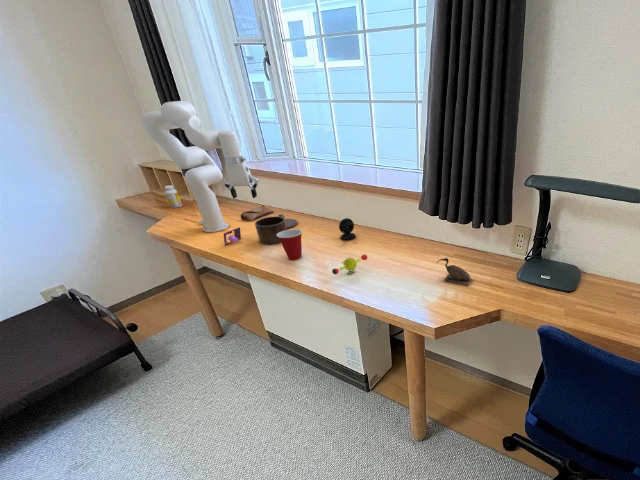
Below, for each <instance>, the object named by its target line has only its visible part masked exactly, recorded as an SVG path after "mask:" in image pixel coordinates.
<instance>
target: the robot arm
mask: <svg viewBox="0 0 640 480" xmlns="http://www.w3.org/2000/svg"><path fill="white" fill-rule="evenodd" d="M141 123H142V126H143V128H144V130H145V132H146V133H147V134H148V135H149V137H150V138H151V139H152V140H153V141H155V143H157V144H158V146H160V147H161V148H162V149H163V150H164V151H165V153H166V155H167V156H168V157H169V158H170V160H172V161H173V163H174V164H175V165H176V166H177V167H178V168H179V169H181V170H187V171H186V172H185V174H184V180H185V182H186V183H187V185H188V186H189V188H190V191H191V193H192V194H193V197H194V199H195V202H196V205H197V208H198V210H199V213H200V215H201V218H202V219H201V220H200V219H199V221H198V226H202V230H203V232H204V233H218V232H222V231H224V230H227V229H228V228H229V226H230V225H229V223H228V222H225V219H224V216H223V214H222V211H221V208H220V205H219V202H218V198H217V196H216V193H215V192H214V191H213V190H212V189H211V188H210V186H212V185H216V184H218V183H220V182H221V183H222V184H223V185H224V186H225V187H226V189H228V190H229V192H230V194H231V197H232V199H236V198H238V193H237V191H236V188H235V187H248V188H250V193H251V197H252V199H255V198H256V197H257V196H258V193H257V190H256V189H257V186H258V185H259V181H260V180H259V178H256V177H254V176H252V173H251V170H250V168H249V166H248V164H247V162H246V160H247V159H246V157H244V156H243V154H242V150H241V146H240V143H239V139H238V136H237V134H236V132H235V131H233V130H225V129H212V130H207V131H199V130H200V128H201V120H200V118H199V117H198V116H197V110H196V108H195V106H194V105H193V104H192V103H191V102H189V101H186V100H177V101H175V100H174V101H166V102H164V103H162V104H161V106H160V110H152V111H148V112H146V113H145V112H144V114H143V115H142V116H141ZM175 129H181V130H182V131H184V134H185V137H186V138H187V140H188V141H189V143H191V144H192V145H193V146H185V145H184V144H183V143H182V142H181V141H180V139H178V138H177V137H176V136H175V135H173V134H172V133H170V132H168V130H170V131H171V130H175ZM217 149H221V151H222V154H223V158H224V161H225V166H224V167H225V174H226V177H225V178H224V179H223V176H224V175H223V172H222V171H221V169H220V168H219V166H218V165H217V164H216V162H215V161H214V160H213V159H212V157H211V156H210V155H209V153H207V151H213V150H217Z"/></svg>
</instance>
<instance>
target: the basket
mask: <svg viewBox="0 0 640 480" xmlns="http://www.w3.org/2000/svg"><path fill="white" fill-rule="evenodd" d="M285 219H286V218H285ZM285 219H284V218H283V217H279V216H278V215H277V216H275V215H274V216H266V217H262V218H259V219H257V220H256V221H255V222H254V226H255V229H256V233H257V237H258V240H259V243H260V244H261V245H264V246H275V245H279V244H281V242H280V240H279V238H278V237H277V236H276V235H277V233H279V232H282V231H285V230H288V228H287V226H286V222H285Z"/></svg>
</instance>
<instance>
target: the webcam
mask: <svg viewBox="0 0 640 480" xmlns="http://www.w3.org/2000/svg"><path fill="white" fill-rule="evenodd" d="M354 228H355V224H354V221H353V220H352V219H351V218H348V217H346V218H343V219H341V220H340V222H339V224H338V229H339V231H340V232H341V235H340V240H342V241H353V240H355V238H357V237H356V234H355V233H354V232H353V230H354Z"/></svg>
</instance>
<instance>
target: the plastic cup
mask: <svg viewBox="0 0 640 480" xmlns="http://www.w3.org/2000/svg"><path fill="white" fill-rule="evenodd" d="M302 235H303V230H302V229H298V228H296V229H295V228H293V229H292V228H291V229H287V230H285V231H282V232H279V233H277V235H276V236H277V237H278V238H279V240H280V242H281V243H280V244H281V246H282V248H283V251H284V252H285V254H286V256H287V258H288V260H290V261H296V260H299V259H301V258H302V256H303V254H302V248H303V247H302Z"/></svg>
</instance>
